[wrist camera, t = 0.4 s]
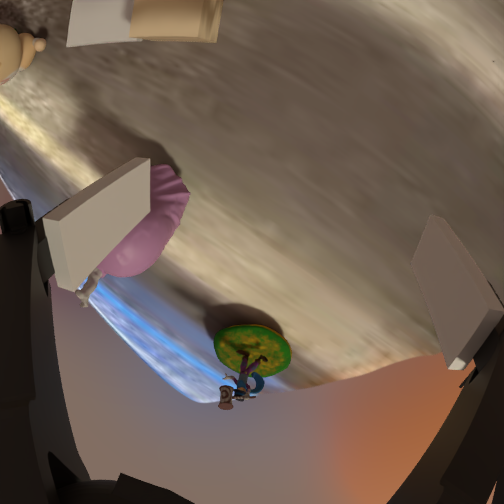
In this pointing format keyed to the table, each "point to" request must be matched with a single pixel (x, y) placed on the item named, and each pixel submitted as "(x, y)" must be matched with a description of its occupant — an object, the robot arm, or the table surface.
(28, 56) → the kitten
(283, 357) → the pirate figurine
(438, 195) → the table surface
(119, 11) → the grey tile
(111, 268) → the toy character
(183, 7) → the maple brick
